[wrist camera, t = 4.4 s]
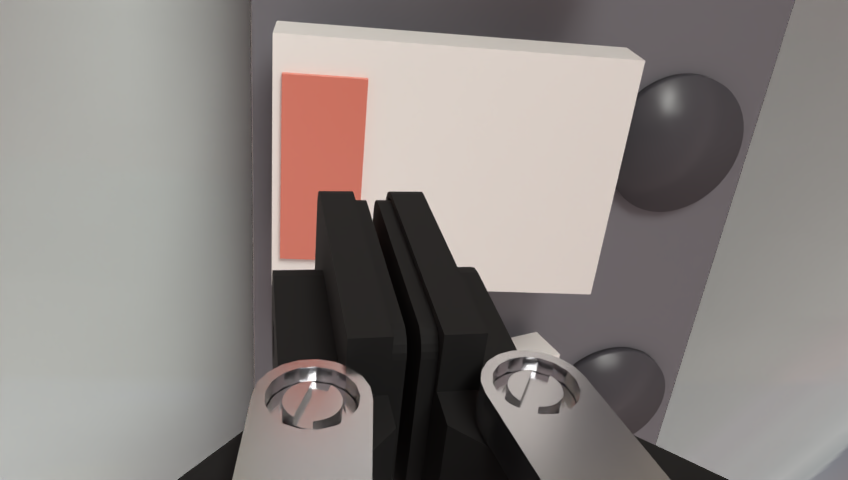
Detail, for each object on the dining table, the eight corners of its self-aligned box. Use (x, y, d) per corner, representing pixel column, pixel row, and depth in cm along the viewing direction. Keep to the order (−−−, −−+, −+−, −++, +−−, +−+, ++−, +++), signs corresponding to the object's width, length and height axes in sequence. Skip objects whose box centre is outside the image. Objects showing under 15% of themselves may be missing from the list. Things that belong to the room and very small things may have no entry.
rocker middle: (614, 38, 18) (647, 62, 16) (568, 254, 21) (592, 297, 19) (279, 12, 17) (271, 34, 15) (277, 243, 20) (271, 287, 18)
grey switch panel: (883, -674, 17) (1063, -817, 13) (577, 493, 33) (619, 575, 30) (242, -881, 14) (241, -1147, 10) (255, 525, 30) (257, 621, 26)
